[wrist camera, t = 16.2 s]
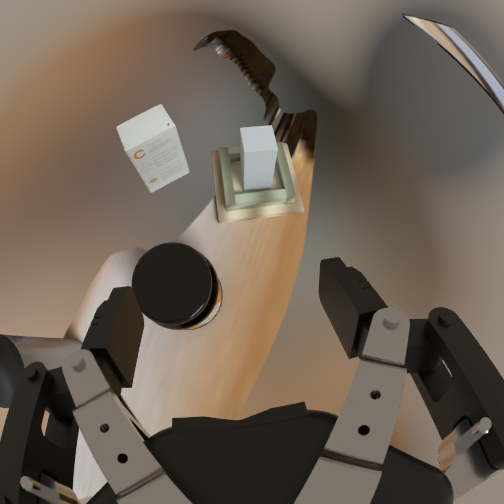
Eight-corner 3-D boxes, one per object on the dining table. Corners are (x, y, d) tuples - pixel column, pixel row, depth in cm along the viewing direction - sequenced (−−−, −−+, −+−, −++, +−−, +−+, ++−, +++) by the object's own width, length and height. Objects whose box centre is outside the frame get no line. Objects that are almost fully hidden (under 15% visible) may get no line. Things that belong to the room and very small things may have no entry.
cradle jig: (219, 223, 45) (217, 214, 42) (211, 154, 49) (209, 142, 45) (303, 212, 46) (307, 203, 43) (286, 146, 50) (288, 135, 46)
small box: (177, 149, 49) (162, 102, 36) (190, 172, 48) (176, 125, 35) (139, 169, 48) (114, 126, 35) (150, 194, 46) (125, 152, 34)
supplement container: (228, 324, 41) (223, 322, 29) (161, 334, 40) (132, 333, 28) (217, 257, 43) (209, 230, 32) (153, 268, 43) (124, 245, 31)
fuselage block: (243, 191, 46) (244, 152, 35) (240, 169, 47) (240, 128, 36) (270, 188, 46) (278, 149, 35) (266, 166, 47) (271, 125, 36)
